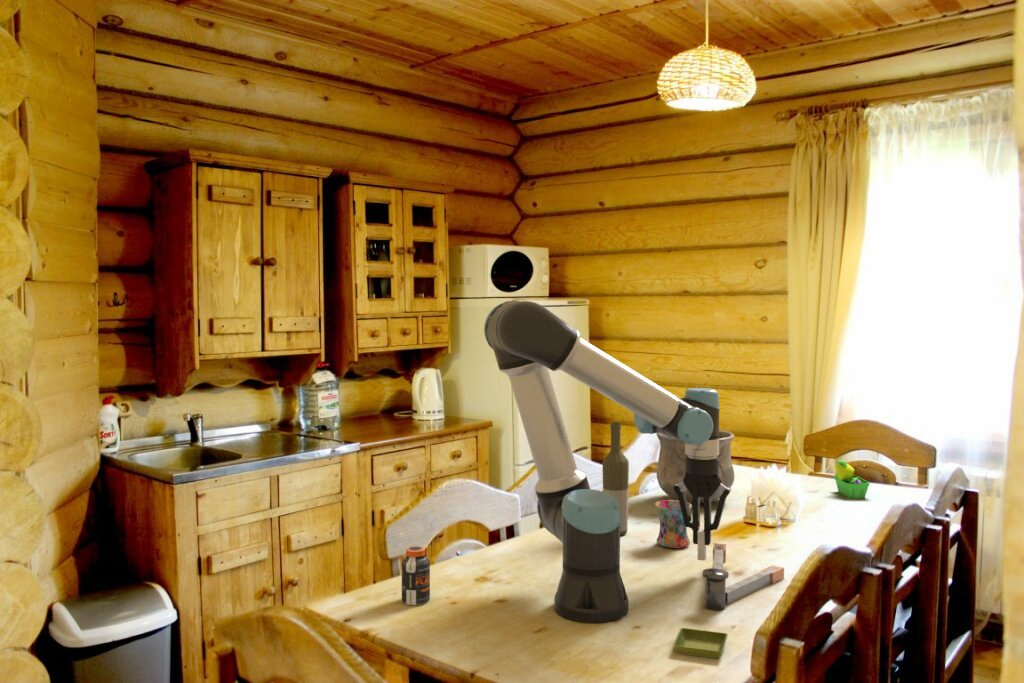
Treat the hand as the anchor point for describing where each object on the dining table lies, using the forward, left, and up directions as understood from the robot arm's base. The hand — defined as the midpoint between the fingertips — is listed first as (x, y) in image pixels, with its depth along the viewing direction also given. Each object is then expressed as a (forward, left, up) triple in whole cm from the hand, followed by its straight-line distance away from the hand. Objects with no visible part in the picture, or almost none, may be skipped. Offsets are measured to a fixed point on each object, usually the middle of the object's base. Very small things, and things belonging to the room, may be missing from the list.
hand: (701, 558), depth 192 cm
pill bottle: (-62, +21, -4) cm, 66 cm away
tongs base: (-1, -14, -4) cm, 14 cm away
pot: (+48, +51, -4) cm, 70 cm away
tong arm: (-1, -6, -1) cm, 7 cm away
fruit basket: (+95, +30, -4) cm, 99 cm away
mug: (+12, +21, -4) cm, 24 cm away
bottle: (+5, +37, -4) cm, 37 cm away
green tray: (-29, -29, -4) cm, 42 cm away
